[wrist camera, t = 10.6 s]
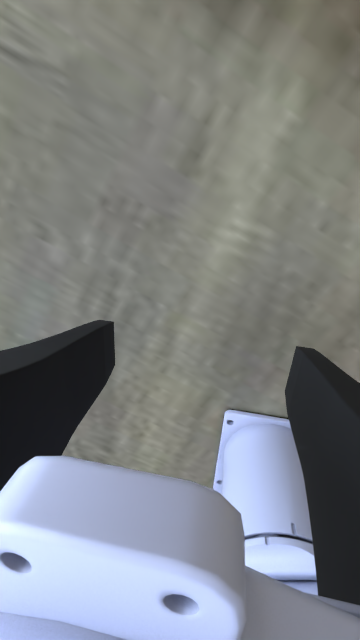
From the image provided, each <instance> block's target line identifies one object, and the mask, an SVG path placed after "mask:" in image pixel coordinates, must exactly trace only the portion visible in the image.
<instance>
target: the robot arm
mask: <svg viewBox="0 0 360 640" xmlns="http://www.w3.org/2000/svg"><path fill="white" fill-rule="evenodd" d="M114 366H115V349H114V322H111V321H104V320H97V321H93V322H90V323H87V324H84V325H81V326H79V327H76V328H73V329H71V330H68V331H65V332H63V333H60V334H57V335H54V336H51V337H48V338H45V339H42V340H40V341H37V342H33V343H30V344H26V345H23V346H19V347H15V348H11V349H7V350H2V351H0V640H360V383H358V382H357V381H356V380H354V379H353V378H352V377H350V376H349V375H348V374H346V373H345V372H344V371H342V370H341V369H340V368H339V367H337V366H336V365H335V364H334V363H332V362H331V361H330V360H328V359H327V358H326V357H325V356H323V355H322V354H321V353H319V352H318V351H316V350H315V349H312V348H305V347H298V346H296V350H295V353H294V357H293V361H292V365H291V369H290V373H289V377H288V381H287V385H286V388H285V396H286V406H287V414H288V418H289V419H284V418H278V417H272V416H266V415H260V414H254V413H248V412H241V411H235V410H227V411H226V412H225V415H224V422H223V428H222V434H221V440H220V447H219V453H218V459H217V465H216V471H215V478H214V484H213V489H210V488H208V487H205V486H203V485H200V484H198V483H195V482H193V481H189V480H184V479H179V478H174V477H169V476H164V475H159V474H154V473H149V472H144V471H139V470H134V469H129V468H124V467H119V466H114V465H109V464H104V463H99V462H94V461H89V460H84V459H79V458H74V457H69V456H61V455H62V453H63V451H64V449H65V447H66V446H67V444H68V442H69V440H70V438H71V436H72V434H73V433H74V431H75V430H76V428H77V426H78V425H79V423H80V422H81V420H82V419H83V417H84V416H85V414H86V413H87V411H88V410H89V409H90V407H91V406H92V404H93V403H94V401H95V400H96V398H97V397H98V395H99V394H100V392H101V391H102V389H103V388H104V386H105V385H106V383H107V381H108V379H109V377H110V375H111V372H112V370H113V368H114ZM228 420H232V422H229V421H228ZM220 480H221V481H220ZM221 494H222V495H221Z"/></svg>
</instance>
